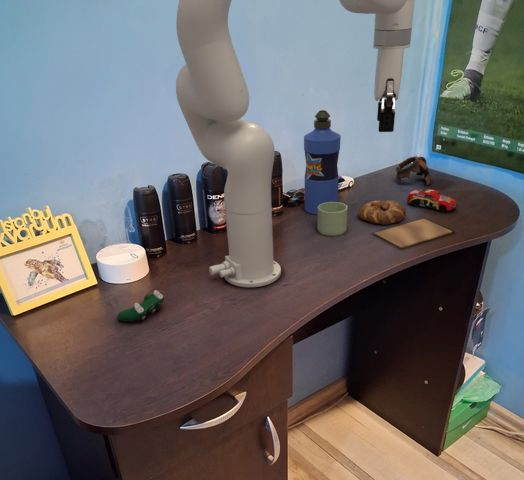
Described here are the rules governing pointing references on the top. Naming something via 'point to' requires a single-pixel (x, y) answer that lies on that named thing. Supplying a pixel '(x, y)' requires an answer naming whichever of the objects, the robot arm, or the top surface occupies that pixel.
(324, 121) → the water bottle
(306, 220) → the top surface
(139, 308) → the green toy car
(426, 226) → the cork mat
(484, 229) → the top surface
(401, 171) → the brown grey arched frame
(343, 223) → the green cup
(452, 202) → the race car
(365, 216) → the seeded bagel
